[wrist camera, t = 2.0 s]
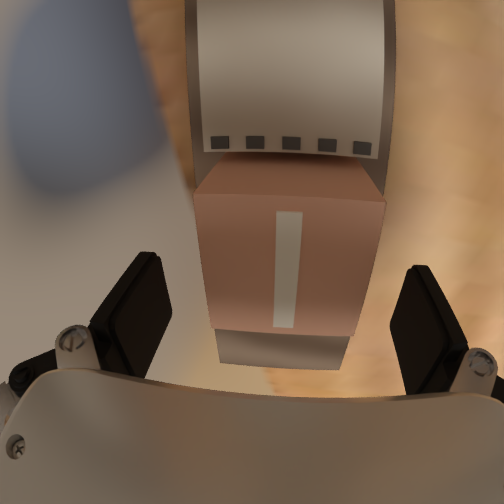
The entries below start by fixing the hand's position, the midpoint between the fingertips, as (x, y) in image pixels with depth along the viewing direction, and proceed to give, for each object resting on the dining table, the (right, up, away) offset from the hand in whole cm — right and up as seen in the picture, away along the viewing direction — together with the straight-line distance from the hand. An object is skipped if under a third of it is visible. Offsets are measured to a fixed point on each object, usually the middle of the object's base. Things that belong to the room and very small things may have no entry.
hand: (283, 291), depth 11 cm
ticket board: (+1, +8, +4) cm, 8 cm away
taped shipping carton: (+1, +4, +5) cm, 6 cm away
